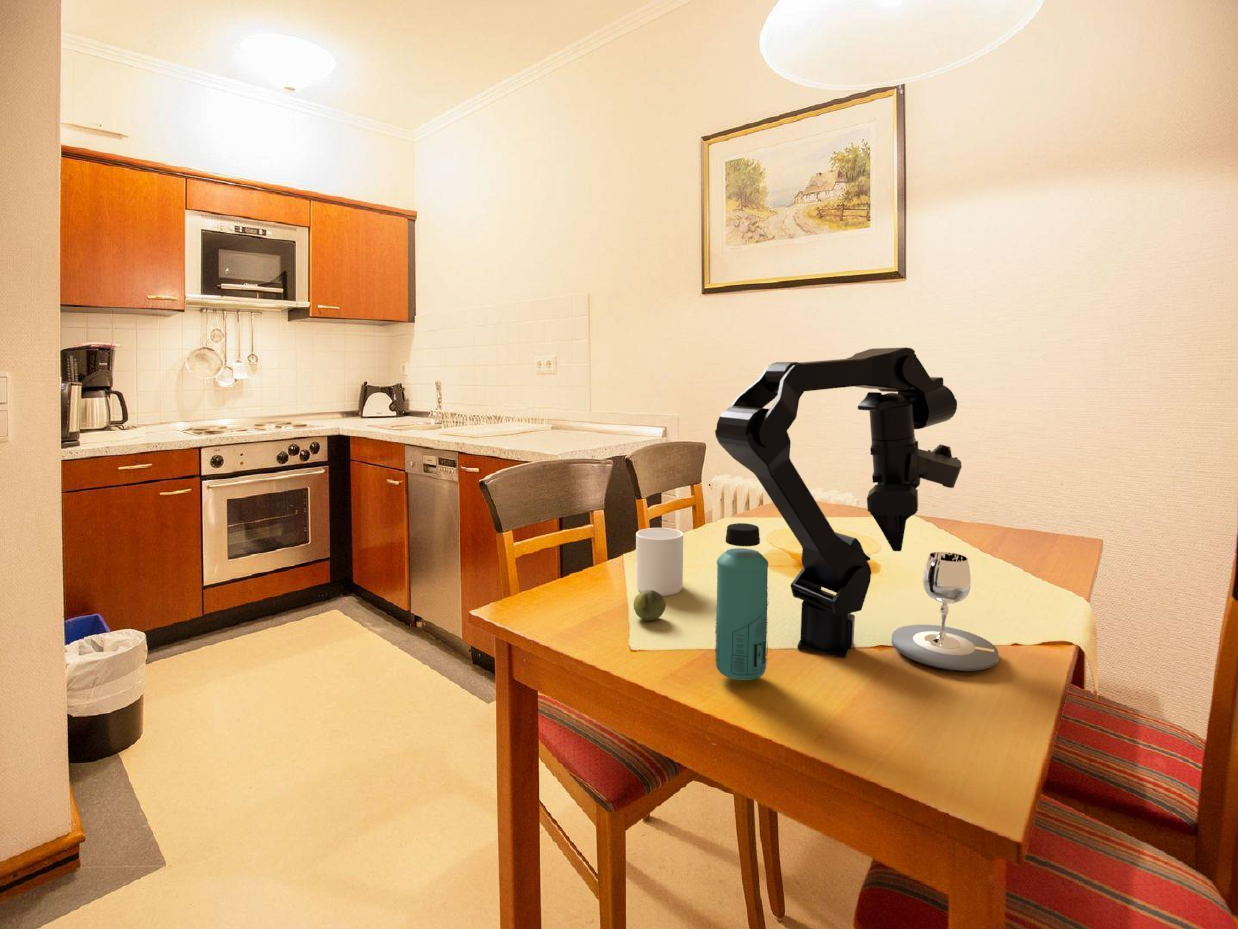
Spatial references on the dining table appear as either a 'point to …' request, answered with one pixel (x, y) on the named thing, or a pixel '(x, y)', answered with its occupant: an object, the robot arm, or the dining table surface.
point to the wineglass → (946, 588)
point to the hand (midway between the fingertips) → (899, 539)
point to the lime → (649, 605)
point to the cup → (659, 560)
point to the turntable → (965, 657)
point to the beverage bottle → (741, 606)
